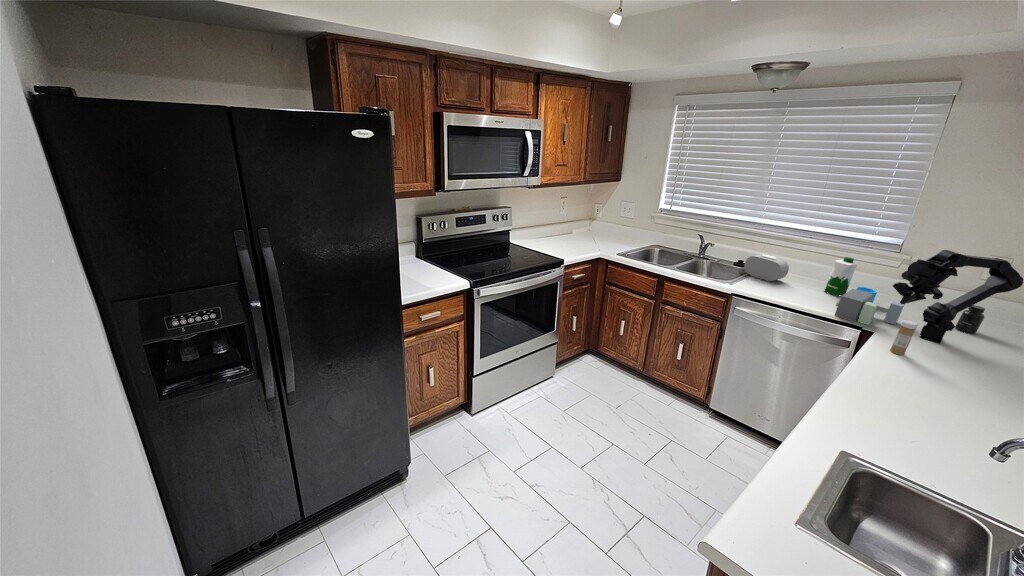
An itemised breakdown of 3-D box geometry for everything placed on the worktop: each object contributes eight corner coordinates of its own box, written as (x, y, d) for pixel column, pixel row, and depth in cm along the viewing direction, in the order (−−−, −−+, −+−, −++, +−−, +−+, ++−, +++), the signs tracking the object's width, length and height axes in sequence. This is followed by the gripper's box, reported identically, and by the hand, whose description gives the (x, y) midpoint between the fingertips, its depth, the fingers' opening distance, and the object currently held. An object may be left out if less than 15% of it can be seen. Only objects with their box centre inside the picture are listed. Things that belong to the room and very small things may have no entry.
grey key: (897, 321, 192) (904, 304, 189) (894, 324, 189) (902, 306, 186) (855, 309, 203) (861, 293, 200) (852, 312, 201) (858, 295, 197)
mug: (871, 309, 206) (877, 294, 203) (851, 304, 210) (857, 289, 208) (870, 302, 215) (875, 287, 212) (850, 298, 220) (856, 283, 217)
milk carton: (847, 295, 223) (861, 260, 216) (838, 297, 220) (851, 261, 212) (830, 289, 231) (842, 255, 223) (821, 291, 227) (833, 256, 220)
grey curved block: (865, 312, 201) (873, 293, 197) (854, 321, 190) (862, 301, 187) (845, 307, 207) (852, 288, 203) (834, 315, 196) (841, 296, 192)
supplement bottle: (958, 331, 185) (970, 307, 181) (951, 326, 191) (963, 302, 187) (979, 335, 182) (991, 311, 178) (971, 330, 188) (984, 306, 184)
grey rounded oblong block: (785, 282, 239) (792, 260, 234) (776, 284, 234) (783, 262, 230) (750, 271, 255) (756, 250, 251) (742, 273, 251) (747, 252, 246)
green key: (871, 322, 190) (878, 304, 187) (868, 324, 187) (875, 306, 184) (835, 311, 200) (841, 294, 197) (831, 313, 197) (838, 296, 194)
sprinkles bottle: (906, 353, 163) (919, 323, 158) (902, 356, 161) (916, 325, 156) (891, 348, 167) (904, 318, 162) (887, 351, 164) (900, 321, 159)
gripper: (938, 267, 176) (907, 291, 187) (900, 263, 174) (871, 288, 185) (957, 286, 168) (924, 310, 180) (918, 282, 166) (886, 307, 177)
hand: (901, 303), depth 181 cm, fingers closed
